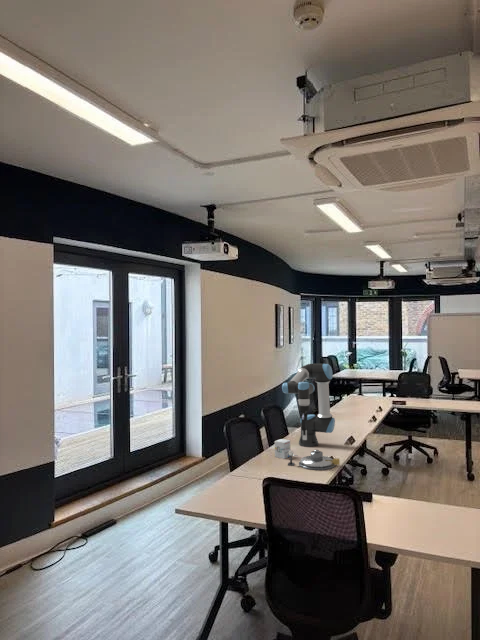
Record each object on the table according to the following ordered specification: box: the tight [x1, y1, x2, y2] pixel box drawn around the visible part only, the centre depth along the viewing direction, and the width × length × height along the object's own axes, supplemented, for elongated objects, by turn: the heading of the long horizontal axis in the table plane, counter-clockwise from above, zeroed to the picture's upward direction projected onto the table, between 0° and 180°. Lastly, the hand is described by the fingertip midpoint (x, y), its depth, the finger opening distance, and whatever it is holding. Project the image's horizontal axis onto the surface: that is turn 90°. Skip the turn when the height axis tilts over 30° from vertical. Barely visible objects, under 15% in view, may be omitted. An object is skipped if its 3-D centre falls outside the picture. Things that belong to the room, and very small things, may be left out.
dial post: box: [287, 450, 298, 467], centre depth 320 cm, size 4×6×10 cm, turn 75°
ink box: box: [274, 438, 292, 460], centre depth 341 cm, size 8×8×12 cm
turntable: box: [299, 455, 341, 468], centre depth 318 cm, size 22×26×3 cm
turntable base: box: [298, 461, 336, 471], centre depth 319 cm, size 24×24×1 cm
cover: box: [310, 449, 324, 462], centre depth 319 cm, size 8×8×6 cm
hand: (304, 439), depth 320 cm, fingers closed
